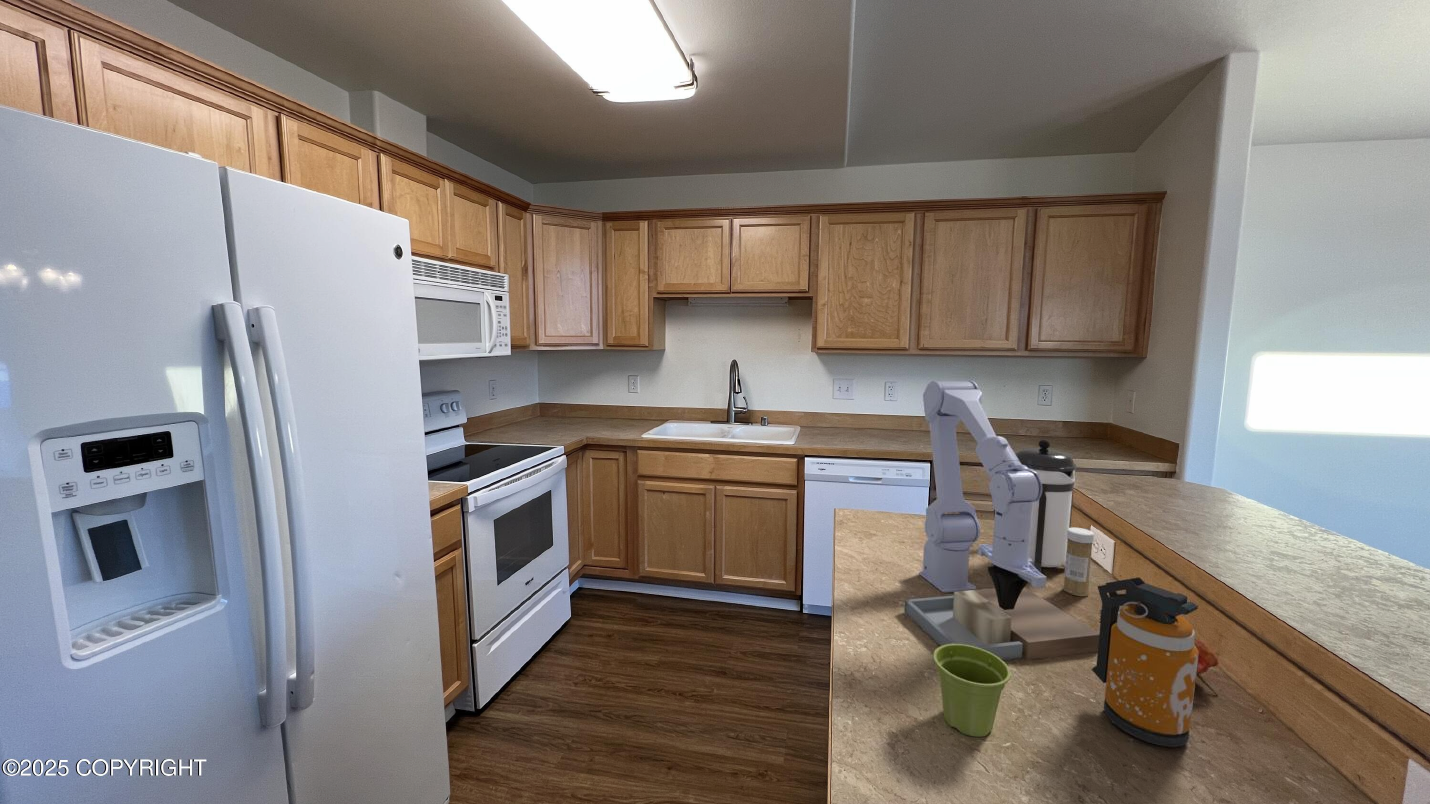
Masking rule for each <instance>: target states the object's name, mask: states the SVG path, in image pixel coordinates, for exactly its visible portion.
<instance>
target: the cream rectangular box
mask: <svg viewBox="0 0 1430 804" xmlns="http://www.w3.org/2000/svg"><path fill="white" fill-rule="evenodd" d="M953 596H954V603H953V618H955V619H956V620H957V621H958V622H959V623H961V624H962V625H963V626H964V627H965V628H967V629H968V630H969V631H970V632H971V633H973V634H974V635H975V636H976V637H977V638H979V639H980V640H981V641H982V642H983V643H985V644H986V645H990V644H999V643H1008V642H1010V635H1011V619H1012V617H1010V616H1009V615H1007V614H1006V613H1005V612H1003V611H1002V610H1000V609H999V608H998V607H996V606H995V605H993V604H992V603H991V602H989V601H988V600H986V599H985V598H983V597H982V596H981V595H979V594H978V593H976V592H975V591H974V590H969V591H958V592H953Z"/></svg>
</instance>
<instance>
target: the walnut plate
mask: <svg viewBox="0 0 1430 804" xmlns="http://www.w3.org/2000/svg"><path fill="white" fill-rule="evenodd" d="M974 591H975V592H976V593H978V594H979V595H981V596H982V597H983V598H985V599H986V600H988V601H989V602H991V603H992V604H993V605H995V606H996V607H998V608H999V609H1000V610H1002V611H1003V612H1005V613H1006V614H1007V615H1009V616H1010V617H1012V619H1011V635H1010V642H1017V641H1020V642H1021V643H1022V644H1023V649H1022V658H1025V660H1034V659H1035V660H1036V659H1042V658H1043V659H1045V658H1051V657H1059V656H1068V655H1076V654H1077V655H1078V654H1087V653H1093V652H1094V653H1096V652H1098V643H1099V632H1098V631H1097V630H1095V629H1093V628H1091V627H1090V626H1089V625H1086V624H1085V623H1083V622H1081V621H1080V620H1079V619H1076V618H1075V617H1073V616H1072V615H1070V614H1068V613H1067V612H1065V611H1063V610H1062V609H1060V608H1058V606H1055V605H1053V604H1052V603H1051V602H1050V601H1047V600H1045V599H1044V598H1042V597H1041V596H1039V595H1037V594H1036V593H1034V592H1032V591H1030V590H1029V589H1027V588H1026V587H1024V588H1023V590H1022V591H1021V593H1020V595H1019V597H1018V599H1017V602H1016V604H1015V607H1014V609H1011V610H1004V609H1002V608H1001V607H999V603H998V598H997V594H996V590H995V587H993V588H983V589H981V588H979V589H976V590H974Z"/></svg>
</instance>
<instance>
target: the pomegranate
mask: <svg viewBox="0 0 1430 804" xmlns="http://www.w3.org/2000/svg"><path fill="white" fill-rule="evenodd" d="M1194 645H1195V647H1196V648H1197V649H1198V652H1199V654H1198V663H1197V671H1196V677H1197V678H1198V679H1199V680H1200V681H1201V682H1202V683H1203V684H1204V685H1206V686H1207V688H1209V689H1210V691H1211V692H1212V693H1214V695H1215V696H1217V697H1218V696H1219V694H1217V692H1216V691H1214V689H1213V688H1212V687H1211V685H1210V684H1208V682H1206V680H1204V678H1203V676H1202V675H1201V674H1204V673H1206V672H1207V671H1208V669H1210V668H1212V667H1216V666H1218V665H1219V664H1220V662H1219V659H1218V657H1217V655H1216V654H1215V652H1214V651H1213V650H1212V649H1211V648H1210V647H1209V646H1208V645H1207V644H1206V643H1204V642H1203V641H1201V640H1199V639H1197V638H1195V637H1194Z"/></svg>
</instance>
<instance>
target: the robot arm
mask: <svg viewBox="0 0 1430 804" xmlns="http://www.w3.org/2000/svg"><path fill="white" fill-rule="evenodd" d="M922 401H923V412H924V419H925V420H926V421H928V423H929V424H928V425H929V433H930V443H931V450H932V452H931V453H932V460H933V471H934V480H935V488H936V489H935V490H936V499H935V500H933V502H932V503H930V504H929V505H928V506H927V507H926V508H925V521H924V530H925V531H924V532H925V535H926V538H927V540H926V542H925V543H924V546H923V556H922V557H923V558H922V560H923V561H922V570H919V571H918V574H919V575H920V576H921V577H923V578H924V579H925V580H927V581H928V582H929V583H930V584H931V585H933V586H934V587H935V588H936V589H938V590H939V591H941V592H942V593H954V592H959V591H969V590H978V589H977V586H975V585H974V584H972V583H971V582H970V581H968V580H969V578H968V577H969V564H970V563H969V562H970V548H973V547H974V543H976V542H977V541H979V539H980V536H981V525H980V522H979V519H978V518H977V514H976V507H975V506H973V504H971V503H969V502H968V501H967V500H966V499H964V494H963V493H964V492H963V483H962V476H961V467H960V465H961V464H960V459H959V449H958V440H957V431H956V426H957V425H958V424H959V422H960V421H962V422H963V424H964V426H965V427H966V429H967V430H968V431H969V433H970V434H971V435H972V437H973V438H974V439H975V441H976V442H977V445H976V446H975V447H976V448H975V453H976V455H977V457H978V459H979V460H980V462H981V464H982V465H983V468H984V469H985V471H986V473H987V474H988V477H989V478H990V482H988V489H989V493H990V495H991V496H990V497H991V499H992V504H991V506H992V509H993V511H994V510H995V518H994V521H993V522H994V523H993V535H992V536H993V538H992V545H990V544H988V543H984V544H983V543H982V544H978V545H977V555H979V556H980V557H985V558H987V559H988V560H989V561H990V562H991V563H992V564H993V565H992V566H988V567H987V572H988V574H989V576H990V578H991V581H992V583H993V585H994V588H995V590H996V594H997V598H998V603H999V607H1001V608H1002V609H1004V610H1011V609H1014V607H1015V604H1016V602H1017V599H1018V597H1019V595H1020V593H1021V591H1022V590H1023V588H1026V586H1027V585H1028V584H1029V583H1030V584H1031V586H1032V587H1033V588H1034V589H1044V588H1046V587H1047V576H1046V575H1044V574H1043V573H1042V572H1041V573H1040V572H1039V571H1038V570H1037V569H1036V568H1035V567H1034V565H1032V559H1030V558H1029V547H1030V533H1031V520H1032V507H1033V502H1036V501H1037V500H1039V498H1040V497H1041V494H1042V483H1041V480H1040V478H1039V476H1038V474H1037V473H1036V472H1035V471H1033V470H1031V469H1028V468H1027V466H1025V465H1022V464H1021V463H1020V461H1019V459H1018V458H1017V456H1016V455H1015V451H1014V450H1013V449H1012V447H1011V445H1010V443H1009V441H1008V440H1007V439H1006V438H1005V437H1004V436H999V435H997V434H996V433H995V431H994V429H993V426H992V425H991V422H990V421H989V419H988V416H987V415H986V413H985V411H984V409H983V406H982V401H983V393H982V391H981V390H980V387H979V386H978V384H977V382H975V381H974V380H967V381H936V380H932V381H930V382H928V384H927V385H926V388H925V390H924V392H923V394H922ZM954 512H955V513H954Z"/></svg>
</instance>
